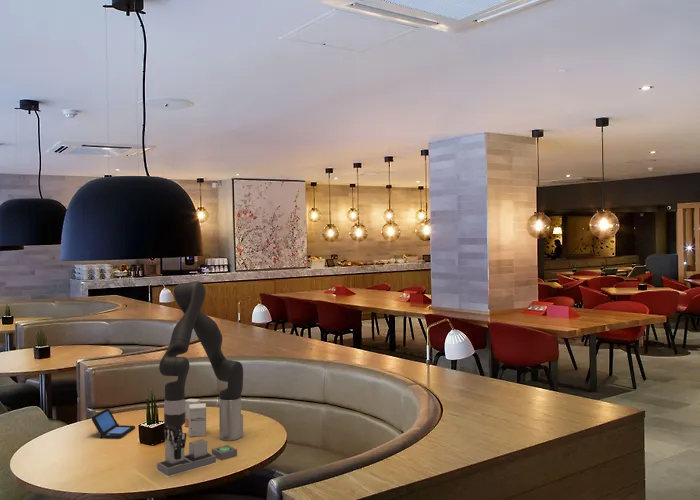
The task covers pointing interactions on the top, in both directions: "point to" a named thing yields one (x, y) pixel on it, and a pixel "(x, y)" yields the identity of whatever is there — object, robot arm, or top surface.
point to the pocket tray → (184, 465)
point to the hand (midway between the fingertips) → (175, 457)
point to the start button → (224, 449)
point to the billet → (172, 452)
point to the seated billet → (197, 450)
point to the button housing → (224, 453)
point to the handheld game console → (110, 426)
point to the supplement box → (197, 419)
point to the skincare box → (187, 402)
